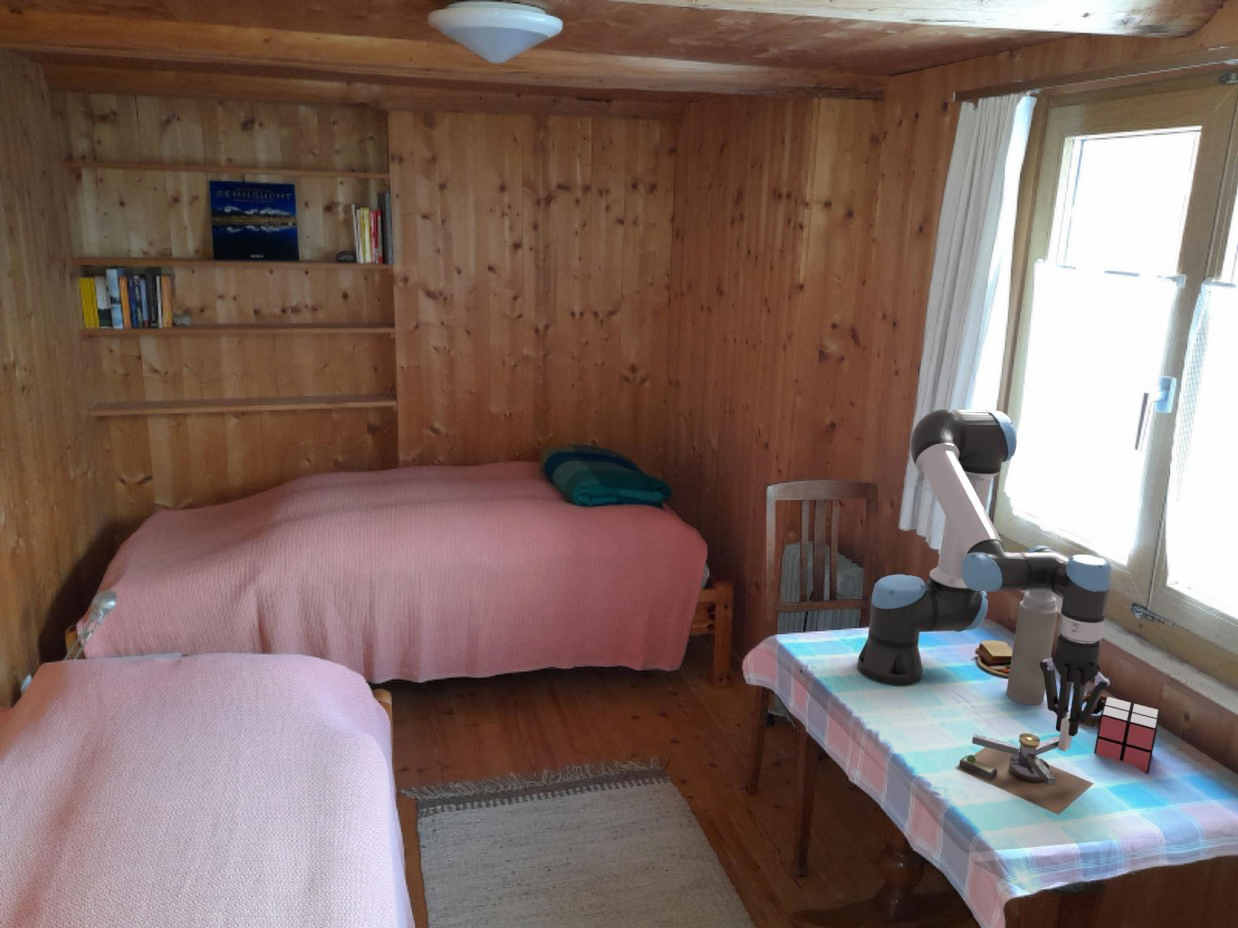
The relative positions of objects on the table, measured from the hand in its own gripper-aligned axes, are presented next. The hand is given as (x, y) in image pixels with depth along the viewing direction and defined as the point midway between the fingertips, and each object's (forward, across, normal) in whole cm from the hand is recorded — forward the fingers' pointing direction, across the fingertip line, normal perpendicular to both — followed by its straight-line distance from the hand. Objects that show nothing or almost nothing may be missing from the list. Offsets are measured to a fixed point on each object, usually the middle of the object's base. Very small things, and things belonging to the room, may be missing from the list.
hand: (1064, 747), depth 186 cm
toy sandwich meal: (+6, -30, +38) cm, 49 cm away
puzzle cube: (+6, +6, +17) cm, 19 cm away
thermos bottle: (+6, -19, +27) cm, 34 cm away
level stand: (+5, -4, -9) cm, 11 cm away
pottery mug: (+6, -3, +27) cm, 28 cm away
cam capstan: (+4, -3, -7) cm, 8 cm away
